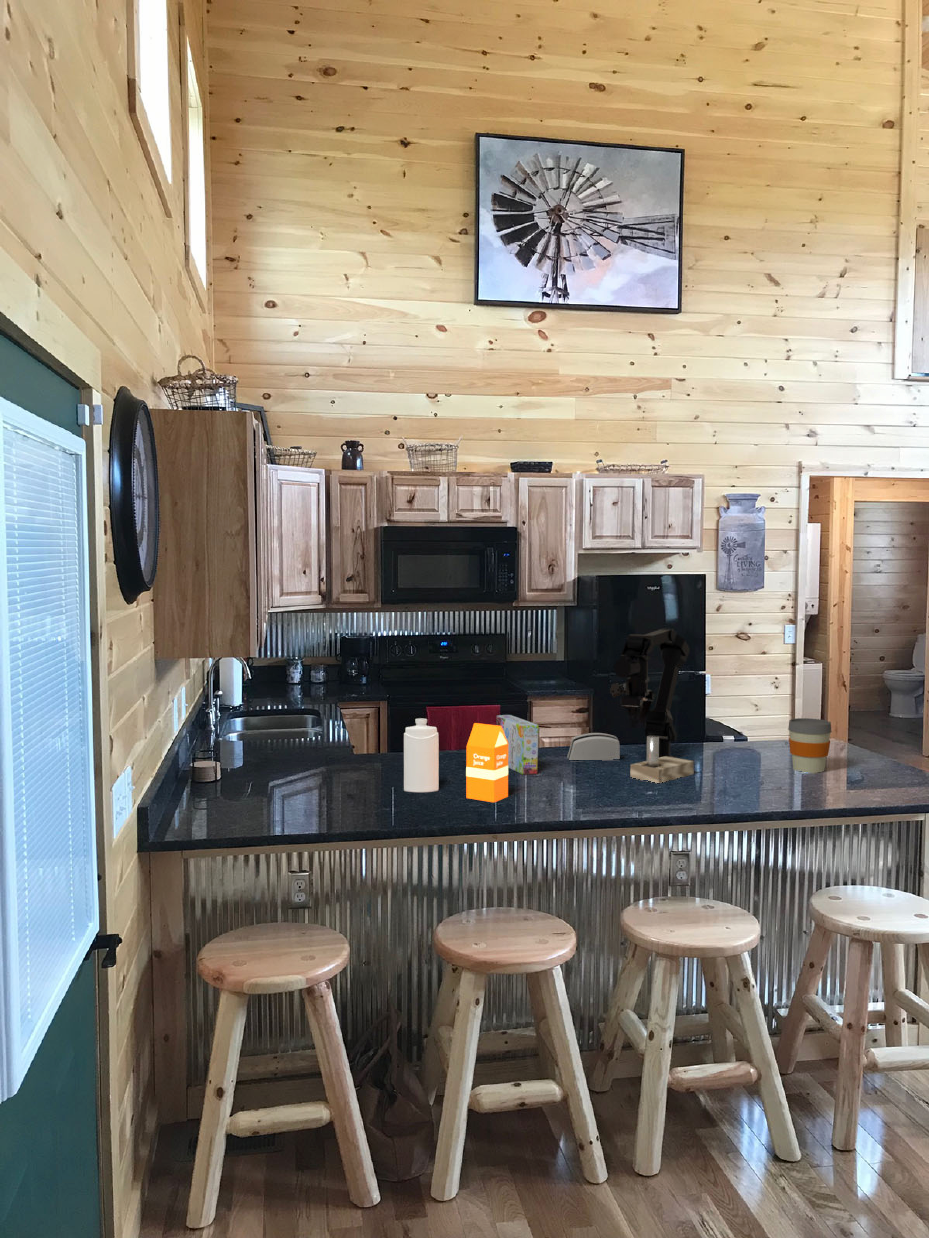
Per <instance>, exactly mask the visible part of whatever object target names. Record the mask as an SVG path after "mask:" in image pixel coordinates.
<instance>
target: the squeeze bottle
mask: <svg viewBox="0 0 929 1238" xmlns="http://www.w3.org/2000/svg"><path fill="white" fill-rule="evenodd" d="M414 723H415V725H412V726H406V727H405V728H404V729H405V732H404V733H403V791H404V792H409V793H432V792H433V793H434V792H438V791H439V789H440V787H439V781H440V780H439V775H440V774H439V769H440V768H439V757H440V755H439V752H440V751H439V750H440V749H439V741H440V740H439V736H440V735H439V732H438V728H437V727H436V726H430V725H427V723H428V719H427V718H421V717H419V718H415V722H414Z"/></svg>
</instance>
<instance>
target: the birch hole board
mask: <svg viewBox="0 0 929 1238" xmlns="http://www.w3.org/2000/svg"><path fill="white" fill-rule="evenodd" d="M674 757H675V756H674ZM674 757H668V756H664V757H660V758H659V767H656V768H653V767H647V760H645V761H639V762H635V763H632V764H630V775H629V776H630V777H632V778H631V779H633V778H636V779H635V780H638V779H640V780H639V781H643V780H648V781H651V782H650V783H652V782H655V783H654V784H657V783H660V784H662V782H663V783H666V781H667V782H670V781H669V780H671V781H674V780H677V778H678V779H681V778H680V777H682V778H685V777H689V776H691V775H694V769H695V766H694V764H695V763H694V762H695V761H694V760H690V759H684V758H678V757H675V758H674ZM630 777H629V778H630ZM648 781H647V782H648Z"/></svg>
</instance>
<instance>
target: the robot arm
mask: <svg viewBox="0 0 929 1238" xmlns="http://www.w3.org/2000/svg"><path fill="white" fill-rule="evenodd" d="M654 647H658V649H659V650H660V653H661V654H660V655H661V657H660V658H661V660H662V662H663V669H662V674H661V678H660V684H659V688H658V693H657V696H656V692H655V691H654V690H653V689H648V686H649V685H648V683H649V682H650V677H649V675H648V674H649V661H651V659H652V657H651V656H650V653H651V652H652V651H654ZM689 654H690V647H689V644H688V643H687V641H686V640H685V638H683V637H682V636H681V635H679V634H678V633H677V632H676V630H675V629H673V628H659V629H657V630H655V631H651V632H649V633H646V634H637V633H636V634H628V636H627V638H626V640H625V642H624V645H623V647H622V650H621V652H620V656H619V659H618V660H616V662H615V664H614V666H613V671H614V674H616V676H617V677H618V678H620V679H626V678H627V679H626V680H625V682H624V683H621V684H619V683H618V682H616V683H612V684H611V687H610V688H609V693H610V694H611V695H612V698H613V699H614V698H617V697H618V696H621V695H623V696H621V698H620V699H619V704H620V705H619V706H621V707H622V708H624V709H625V711H627V715H628V719H629V722H630V727H631V728H636V727H637V724H638V722H639V723H640V724H643V723H644V734H645V738H646V740H647V736H658V737H659V758H660V757H664V756H668V757H674V758H676V757H675V756H673V755H672V754H671V753H672V751H671V748H672V747H671V746H672V742H676V741H677V738H678V732H677V731H676V727H675V726H674V725H673V723H674V719H673V716H672V713H671V709H672V703H673V698H674V695H675V689H676V685H677V679H678V676H679V672H680V669H681V668H682V667H683V666H684V665H685V664H686V662H687V659H688V656H689ZM655 699H656V701H655V705H654V706H655V707H653V709H651V707H652V705H653V703H654V700H655Z"/></svg>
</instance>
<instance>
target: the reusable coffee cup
mask: <svg viewBox="0 0 929 1238" xmlns="http://www.w3.org/2000/svg"><path fill="white" fill-rule="evenodd" d="M788 721H789V722H788V728H787V730H788V731H789V738H788V743H789V744H788V745H789V751H790V754H791V757H792V758H791V759H792V768H793V770H794V771H795V770H798V771H802V772H801V773H804V772H809V773H808V774H818V773H817V772H822V771H824V772H825V768H826V763H827V762H826V761H827V757H828V756H829V752H830V746H831V740H830V737H831V733H833V731H832V723H831V721H828V720H826V719H820V718H819V719H818V718H807V717H804V718H803V717H802V718H801V717H800V718H791V719H789V720H788ZM798 771H797V772H798ZM822 773H823V772H822Z"/></svg>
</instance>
